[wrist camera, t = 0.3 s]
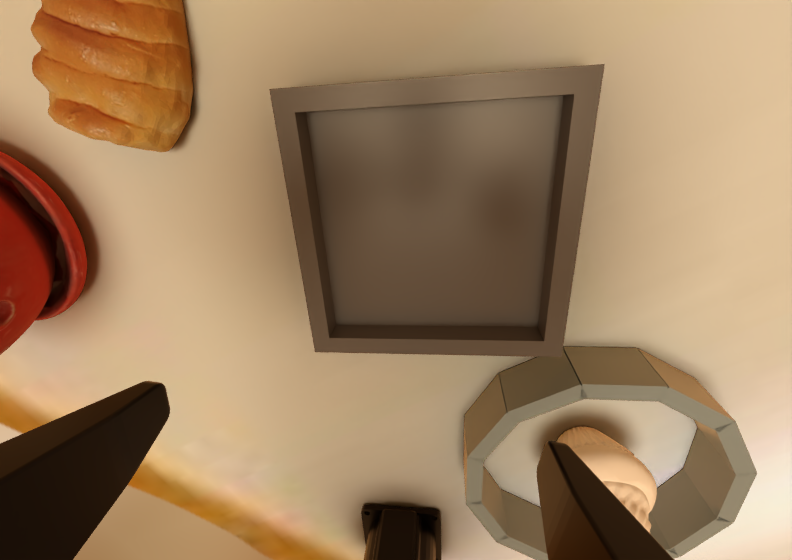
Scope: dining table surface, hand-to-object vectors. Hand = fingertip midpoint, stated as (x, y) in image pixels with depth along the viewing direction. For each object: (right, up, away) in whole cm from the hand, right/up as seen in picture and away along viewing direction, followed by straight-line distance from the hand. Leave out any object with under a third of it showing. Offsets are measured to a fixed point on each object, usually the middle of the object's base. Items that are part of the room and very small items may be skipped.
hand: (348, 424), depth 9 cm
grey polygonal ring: (+14, -8, +17) cm, 24 cm away
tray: (+3, +7, +12) cm, 14 cm away
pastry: (-12, +15, +11) cm, 22 cm away
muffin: (+14, -8, +17) cm, 24 cm away
